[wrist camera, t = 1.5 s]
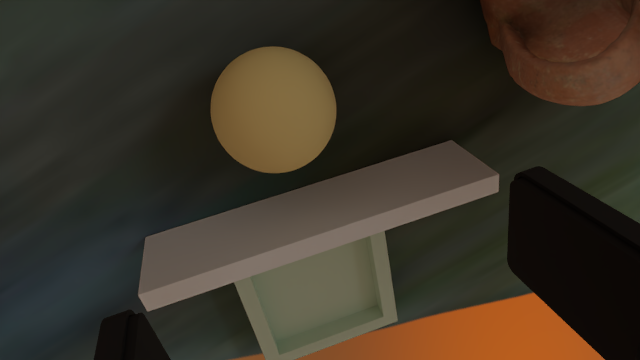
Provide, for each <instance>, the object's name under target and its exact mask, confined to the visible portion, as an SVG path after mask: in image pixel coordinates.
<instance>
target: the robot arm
mask: <svg viewBox="0 0 640 360" xmlns="http://www.w3.org/2000/svg"><path fill="white" fill-rule="evenodd" d="M507 262H508V265H509V267H510V269H511V270H512V272H513V273H514V274H515V275H516V276H517V277H518V278H519V279H520V280H521V281H522V282H524V283H525V284H526V285H527V286H528V287H529V288H530V289H531V290H532V291H533V292H534V293H535V294H536V295H537V296H538V297H539V298H541V299H542V300H543V301H544V302H545V303H546V304H547V305H548V306H549V307H550V308H551V309H552V310H553V311H554V312H555V313H556V314H557V315H558V316H560V317H561V318H562V319H563V320H564V321H565V322H566V323H567V324H568V325H569V326H570V327H571V328H572V329H573V330H574V331H576V333H578V334H579V335H580V336H581V337H582V338H583V339H584V340H585V341H586V342H587V343H588V344H589V345H590V346H591V347H592V348H593V349H594V350H596V351H597V352H598V353H599V354H600V355H601V356H602V357H603V358H604V359H605V360H640V224H639V223H638V222H636V221H634V220H633V219H631V218H629V217H627V216H626V215H624V214H622V213H621V212H619V211H617V210H615V209H614V208H612V207H610V206H609V205H607V204H605V203H603V202H602V201H600V200H598V199H597V198H595V197H593V196H591V195H590V194H588V193H586V192H584V191H583V190H581V189H579V188H578V187H576V186H574V185H572V184H571V183H569V182H567V181H566V180H564V179H562V178H560V177H559V176H557V175H555V174H554V173H552V172H550V171H548V170H547V169H545V168H543V167H540V166H538V167H534V168H531V169H528V170H525V171H523V172H520V173H518V174H516V175H515V177H514V181H512V182H511V184H510V200H509V226H508V252H507ZM94 360H170V358H169V356H168V354H167V353H166V351H165V349H164V348H163V346H162V344H161V343H160V341H159V339H158V337H157V336H156V334H155V332H154V331H153V329H152V327H151V325H150V324H149V322H148V320H147V319H146V317H145V315H144V314H143V313H138V314H135V313H134V312H133V311H132V310H127V311H124V312H121V313H119V314H116V315H113V316H110V317H107V318H104V319H103V320H102V323H101V326H100V331H99V336H98V341H97V346H96V351H95V356H94Z"/></svg>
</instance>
